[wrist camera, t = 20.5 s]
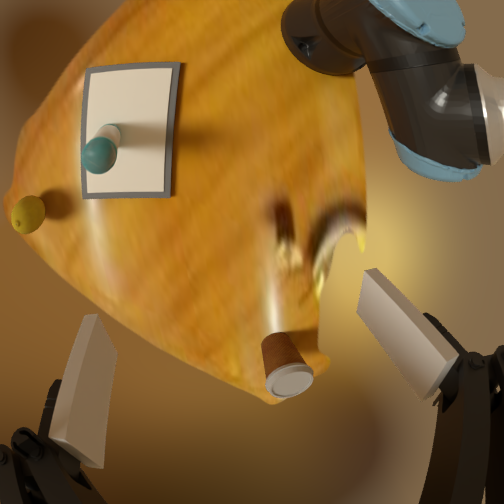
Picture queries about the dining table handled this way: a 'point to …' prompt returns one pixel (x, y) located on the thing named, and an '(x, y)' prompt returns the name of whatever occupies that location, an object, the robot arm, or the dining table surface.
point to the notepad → (132, 127)
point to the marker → (102, 150)
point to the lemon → (28, 214)
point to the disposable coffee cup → (284, 367)
